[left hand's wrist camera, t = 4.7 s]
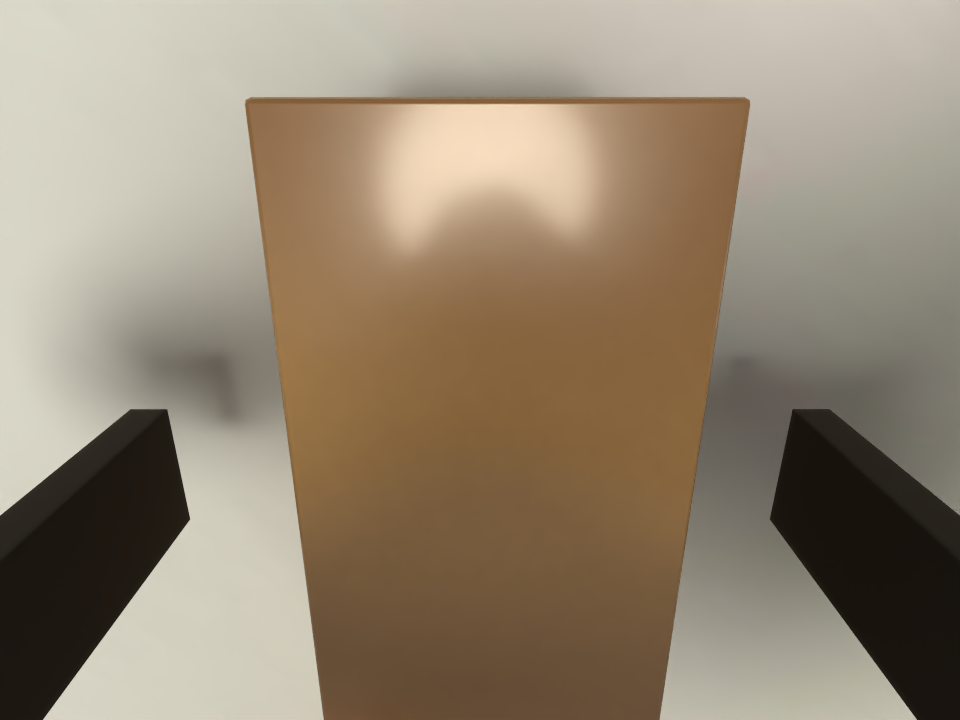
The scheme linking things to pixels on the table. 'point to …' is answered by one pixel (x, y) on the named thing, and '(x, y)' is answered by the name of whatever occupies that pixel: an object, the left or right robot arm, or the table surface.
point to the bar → (494, 387)
